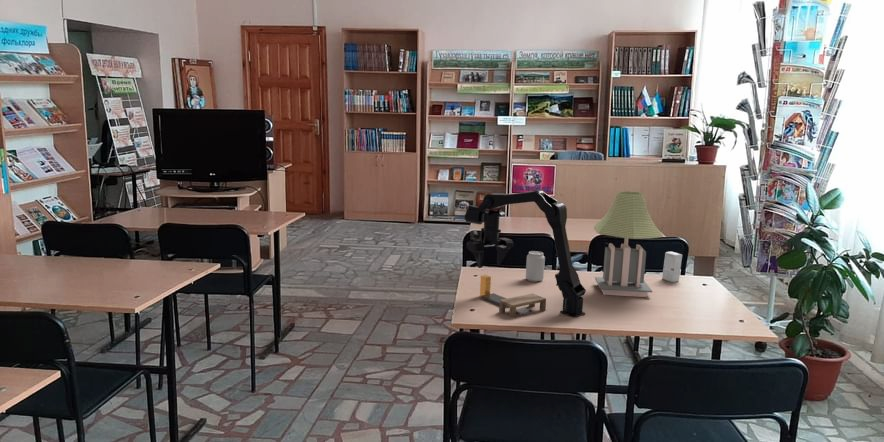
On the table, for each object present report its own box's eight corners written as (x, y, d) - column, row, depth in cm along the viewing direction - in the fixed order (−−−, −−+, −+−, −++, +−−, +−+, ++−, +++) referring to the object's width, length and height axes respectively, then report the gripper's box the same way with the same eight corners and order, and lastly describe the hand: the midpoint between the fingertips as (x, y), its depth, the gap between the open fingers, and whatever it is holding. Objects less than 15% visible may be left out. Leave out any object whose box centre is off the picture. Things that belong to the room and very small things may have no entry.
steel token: (533, 314, 227) (533, 311, 227) (522, 316, 224) (523, 313, 224) (523, 310, 231) (523, 307, 231) (513, 312, 228) (513, 309, 228)
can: (523, 280, 269) (524, 252, 267) (529, 276, 276) (530, 249, 273) (539, 283, 266) (541, 255, 263) (545, 279, 272) (547, 252, 270)
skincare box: (661, 278, 279) (664, 251, 277) (668, 277, 281) (671, 251, 279) (672, 282, 274) (675, 254, 272) (680, 281, 276) (682, 254, 274)
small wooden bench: (545, 310, 230) (546, 298, 229) (512, 317, 220) (513, 305, 219) (531, 305, 235) (532, 293, 234) (499, 312, 226) (499, 300, 225)
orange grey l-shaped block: (517, 305, 234) (518, 284, 233) (504, 308, 231) (506, 286, 229) (488, 294, 247) (489, 274, 246) (476, 296, 244) (477, 276, 242)
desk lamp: (646, 283, 271) (655, 189, 264) (662, 303, 243) (672, 199, 236) (585, 279, 273) (592, 187, 266) (594, 299, 246) (602, 196, 239)
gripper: (496, 220, 252) (494, 259, 255) (458, 224, 241) (456, 264, 244) (515, 225, 243) (512, 265, 246) (476, 229, 233) (474, 271, 235)
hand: (489, 266), depth 243 cm, fingers open, 9 cm apart
